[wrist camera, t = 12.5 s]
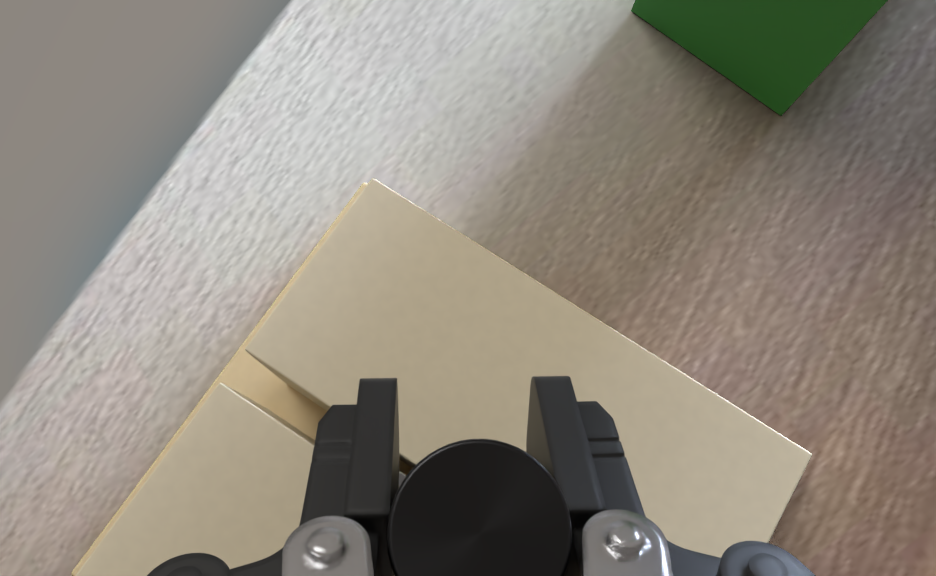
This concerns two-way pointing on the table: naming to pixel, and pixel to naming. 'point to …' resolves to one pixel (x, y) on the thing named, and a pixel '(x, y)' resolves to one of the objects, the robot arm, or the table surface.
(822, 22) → the hardback book
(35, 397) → the table surface
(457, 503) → the knife
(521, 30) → the table surface
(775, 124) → the table surface
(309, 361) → the slotted fixture
